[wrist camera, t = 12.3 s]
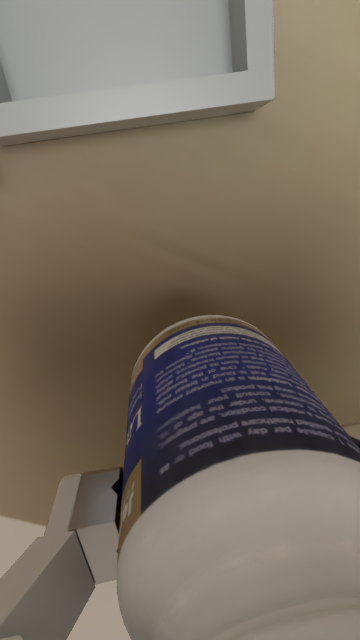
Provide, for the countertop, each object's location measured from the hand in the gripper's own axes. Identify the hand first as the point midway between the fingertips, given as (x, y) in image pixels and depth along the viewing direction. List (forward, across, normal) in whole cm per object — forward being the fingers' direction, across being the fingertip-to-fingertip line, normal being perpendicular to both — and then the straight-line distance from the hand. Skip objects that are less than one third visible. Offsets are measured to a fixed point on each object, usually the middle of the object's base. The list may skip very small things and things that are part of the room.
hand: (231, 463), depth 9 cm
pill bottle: (+4, 0, 0) cm, 4 cm away
